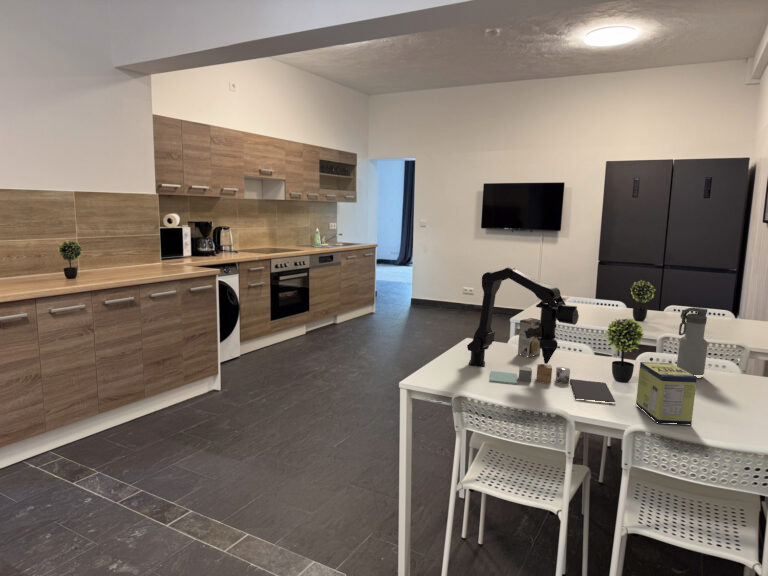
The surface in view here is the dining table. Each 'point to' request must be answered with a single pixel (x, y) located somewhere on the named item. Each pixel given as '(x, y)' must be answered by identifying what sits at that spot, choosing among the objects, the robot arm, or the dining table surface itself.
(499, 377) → the teal mat
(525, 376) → the dark grey plastic block
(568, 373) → the grey metal cylinder
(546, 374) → the walnut block
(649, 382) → the protein box
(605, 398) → the notebook
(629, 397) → the dining table surface
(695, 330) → the water bottle
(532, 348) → the coffee box
